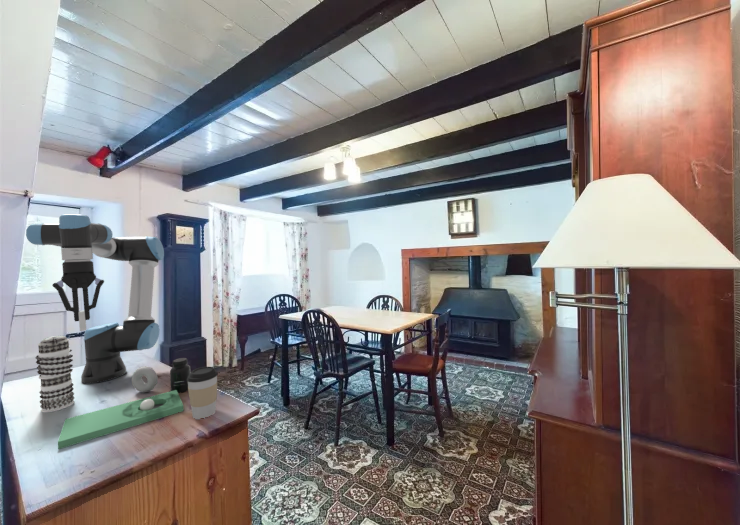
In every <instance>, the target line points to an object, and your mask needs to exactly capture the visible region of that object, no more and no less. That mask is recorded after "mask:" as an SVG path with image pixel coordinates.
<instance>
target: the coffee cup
mask: <svg viewBox="0 0 740 525" xmlns="http://www.w3.org/2000/svg"><path fill="white" fill-rule="evenodd" d="M190 372H191V373H190V374H189V375H188V378H187V381H188V390H187V391H188V396H189V405H190V407H191V415H192V418H193V419H194V418H195V419H194V420H201V419H200V418H204V419H206V418H205V417H208V416H210V415H212V414H213V413H214V414H216V412H217V397H218V396H217V394H218V375H219V373H218V371H217V369H215V368H214V366H200V367H198V368H197V367H196V368H195V369H192V370H191V371H190ZM215 411H216V412H215ZM214 414H213V415H214ZM213 415H212V416H213ZM210 417H211V416H210ZM208 418H209V417H208Z"/></svg>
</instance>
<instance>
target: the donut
mask: <svg viewBox="0 0 740 525" xmlns="http://www.w3.org/2000/svg"><path fill="white" fill-rule="evenodd" d="M132 373H133V374H132V375H131V384H132V387H133V388H134V389H135V390H136V391H137V392H140V393H149V392H151V391H152V390H154V388H156V386H157V384H158V374H157V372H156V371H155V369H153V368H152V367H150V366H141V367H138V368H137V369H135V371H134V372H132ZM143 376H144V377H145V378H146V380H147V381H146V382H145V381H144V380H143Z"/></svg>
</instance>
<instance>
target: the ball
mask: <svg viewBox="0 0 740 525" xmlns="http://www.w3.org/2000/svg"><path fill="white" fill-rule="evenodd" d="M153 407H154V401H153V400H152V399H146V400H144V401H143V402H142V403H141V405H140V409H141V411H146V410H152V409H153Z"/></svg>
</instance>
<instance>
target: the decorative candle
mask: <svg viewBox="0 0 740 525" xmlns="http://www.w3.org/2000/svg"><path fill="white" fill-rule="evenodd" d="M70 340H71V339H70V338H67V336H65V335H55V336H54V335H53V336H50V337H46V338H43V339H42V340H41V341H40V342H39V343H37V346H38V354H37V355H36V356H35V359H36V361H35V363H36V365H37V366H36V369H37V370H38V371H36V372H37V374H38V379H39V380H40V391H39V392H38V393H39V394H40V395H39V398H40V401H39V404H40V405H39V406H40V408H41V409H40V412H41V411H42V412H41V413H51V412H52V413H53V412H57V411H60V410H64V409H66V408H68V407H71V406H72V405H74V403H75V400H74V399H75V397H74V395H75V392H74V391H73V390H74V383H73V379H72V378H71V377H72V374H71V373H72V372H73V370H74V369H73V368H72V367H74V365H73V364H71V363H72V362H73V361H74V360H73V358H72V357H73V354H70V353H72V351H73V349H71V347H69V345H70V342H69V341H70Z"/></svg>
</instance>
